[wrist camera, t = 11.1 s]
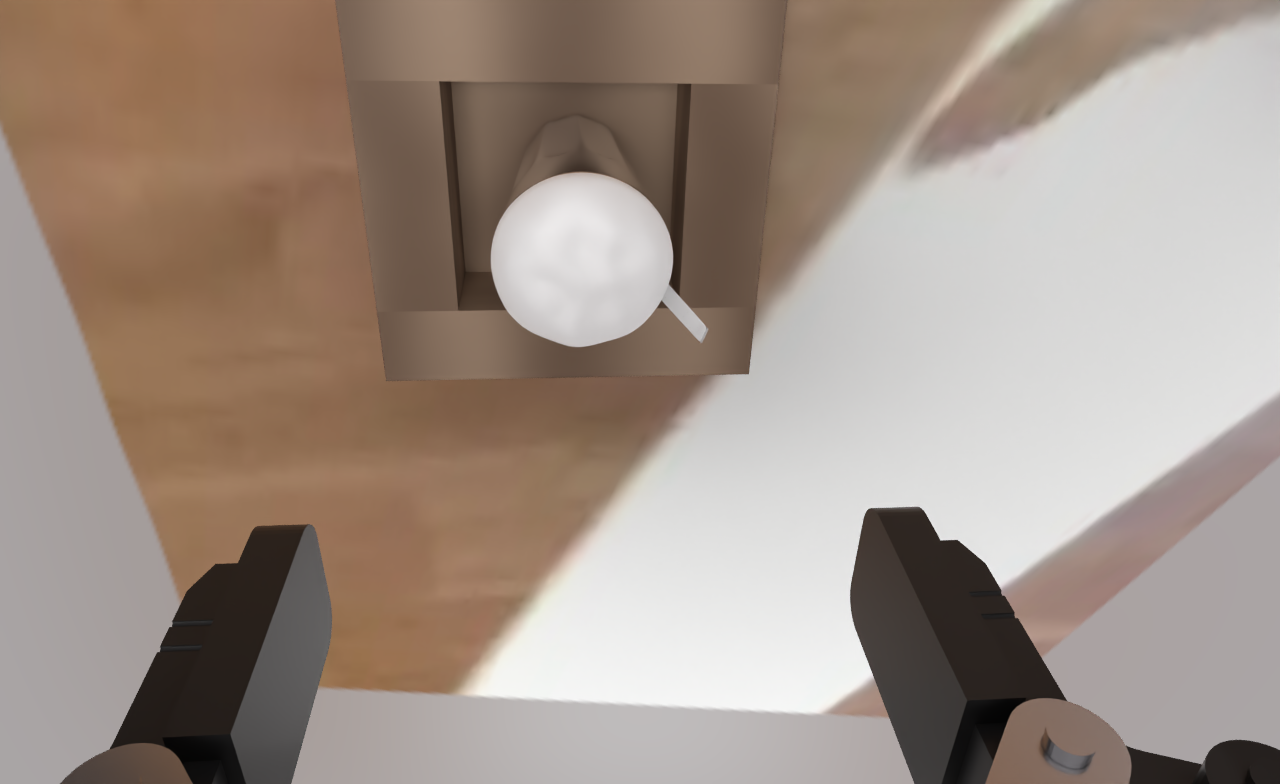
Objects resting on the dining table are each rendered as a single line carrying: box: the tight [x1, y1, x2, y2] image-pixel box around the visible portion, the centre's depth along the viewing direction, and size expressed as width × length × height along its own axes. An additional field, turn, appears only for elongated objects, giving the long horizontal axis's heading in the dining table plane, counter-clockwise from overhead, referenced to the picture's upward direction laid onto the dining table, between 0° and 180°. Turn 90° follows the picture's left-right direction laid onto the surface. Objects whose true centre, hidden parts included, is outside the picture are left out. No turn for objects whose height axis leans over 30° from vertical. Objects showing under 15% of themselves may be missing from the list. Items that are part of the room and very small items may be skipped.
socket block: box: [335, 0, 787, 381], centre depth 29 cm, size 12×12×4 cm
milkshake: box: [491, 115, 708, 347], centre depth 26 cm, size 4×5×10 cm
